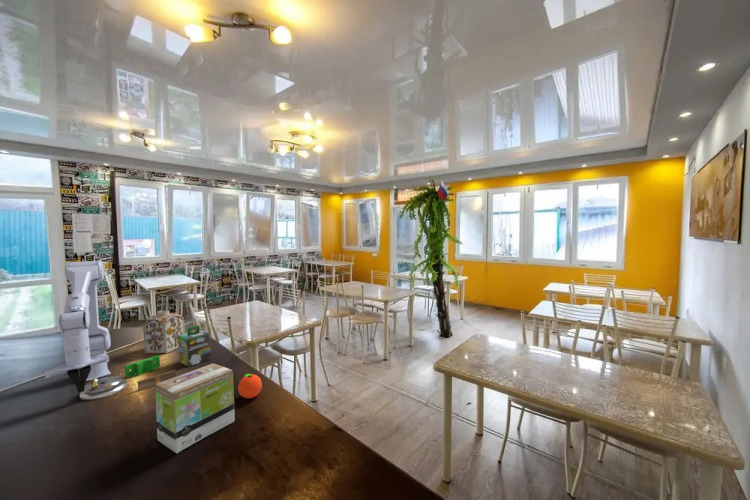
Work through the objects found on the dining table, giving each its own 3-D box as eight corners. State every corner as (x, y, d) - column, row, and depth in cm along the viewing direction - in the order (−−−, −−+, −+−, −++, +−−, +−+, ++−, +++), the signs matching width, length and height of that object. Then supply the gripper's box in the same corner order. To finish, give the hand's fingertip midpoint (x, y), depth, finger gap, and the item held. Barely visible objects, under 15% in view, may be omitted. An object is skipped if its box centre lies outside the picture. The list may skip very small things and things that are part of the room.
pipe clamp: (129, 379, 113) (128, 367, 113) (125, 377, 115) (124, 365, 115) (163, 367, 123) (162, 356, 122) (159, 366, 125) (158, 354, 124)
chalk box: (201, 355, 134) (199, 321, 134) (211, 359, 129) (209, 324, 128) (178, 362, 127) (175, 327, 126) (188, 367, 121) (185, 330, 121)
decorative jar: (143, 353, 139) (140, 314, 138) (165, 344, 151) (162, 308, 150) (166, 354, 137) (164, 314, 136) (186, 344, 149) (184, 308, 148)
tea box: (177, 455, 71) (173, 393, 71) (157, 441, 77) (152, 383, 76) (236, 421, 84) (233, 368, 83) (215, 411, 89) (212, 361, 89)
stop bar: (138, 390, 104) (137, 381, 104) (175, 377, 112) (174, 369, 112) (139, 391, 103) (138, 382, 103) (176, 378, 112) (175, 370, 112)
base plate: (77, 392, 104) (77, 389, 104) (122, 379, 113) (122, 376, 113) (82, 404, 96) (81, 401, 96) (130, 388, 105) (130, 386, 105)
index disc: (98, 381, 109) (97, 369, 109) (129, 378, 110) (128, 366, 110) (75, 396, 99) (74, 382, 99) (110, 392, 101) (108, 379, 100)
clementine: (233, 396, 97) (232, 374, 97) (254, 388, 102) (253, 367, 102) (244, 405, 92) (243, 382, 91) (266, 396, 97) (265, 373, 96)
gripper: (44, 359, 89) (48, 405, 90) (109, 345, 100) (112, 385, 101) (43, 354, 94) (47, 397, 94) (105, 340, 105) (108, 379, 105)
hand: (80, 391), depth 98 cm, fingers closed
